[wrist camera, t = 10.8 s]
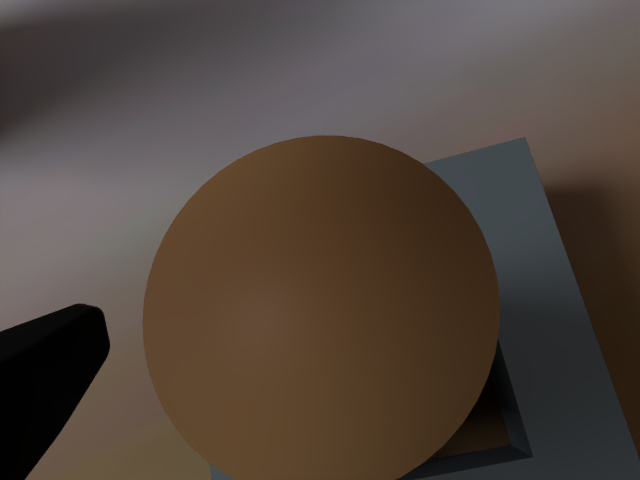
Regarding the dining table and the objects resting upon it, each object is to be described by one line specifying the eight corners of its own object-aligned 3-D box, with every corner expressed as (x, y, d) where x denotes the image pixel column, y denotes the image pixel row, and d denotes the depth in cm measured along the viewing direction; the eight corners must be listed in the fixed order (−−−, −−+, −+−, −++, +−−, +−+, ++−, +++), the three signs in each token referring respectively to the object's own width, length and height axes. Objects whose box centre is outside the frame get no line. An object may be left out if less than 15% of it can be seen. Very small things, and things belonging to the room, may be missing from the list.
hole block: (614, 511, 15) (671, 547, 12) (275, 569, 17) (228, 618, 13) (507, 190, 19) (525, 137, 15) (229, 260, 20) (181, 227, 16)
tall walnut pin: (479, 384, 17) (587, 339, 5) (387, 454, 17) (259, 585, 5) (407, 293, 18) (349, 74, 6) (321, 358, 18) (88, 269, 6)
